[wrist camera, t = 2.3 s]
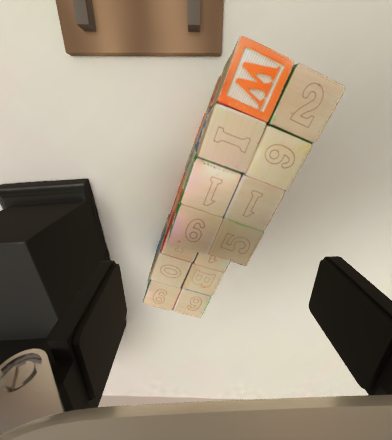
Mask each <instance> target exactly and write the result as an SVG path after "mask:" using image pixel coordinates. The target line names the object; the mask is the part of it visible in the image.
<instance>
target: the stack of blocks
mask: <svg viewBox="0 0 392 440" xmlns="http://www.w3.org/2000/svg"><path fill="white" fill-rule="evenodd" d="M344 90H345V87H344V86H343V85H341V84H339V83H337V82H335V81H333V80H331V79H329V78H327V77H325V76H323V75H321V74H319V73H317V72H316V71H314V70H312V69H310V68H308V67H306V66H304V65H303V64H300V63H298V64H296V65H294V62H293V61H292V60H291V59H289V58H288V57H286V56H283V55H281V54H279V53H277V52H275V51H273V50H271V49H269V48H267V47H265V46H263V45H261V44H259V43H257V42H255V41H253V40H251V39H249V38H246V37H244V36H240V38H239V39H238V42H237V44H236V46H235V48H234V50H233V53H232V54H231V56H230V58H229V59H228V61H227V63H226V65H225V67H224V70H223V73H222V75H221V76H220V77H219V79H218V81H217V84H216V87H215V89H214V92H213V95H212V98H211V100H210V103H209V106H208V109H207V111H206V113H205V114H204V117H203V120H202V123H201V126H200V128H199V131H198V134H197V137H196V139H195V142H194V145H193V147H192V150H191V153H190V156H189V158H188V161H187V164H186V167H185V173H184V175H183V178H182V181H181V184H180V187H179V189H178V193H177V196H176V199H175V202H174V205H173V208H172V210H171V214H169V216H168V218H167V221H166V224H165V227H164V229H163V232H162V235H161V239H160V242H159V245H158V248H157V250H156V254H155V258H154V261H153V264H152V267H151V271H150V274H149V278H148V286H147V290H146V293H145V297H144V300H143V303H144V304H147V305H151V306H155V307H159V308H162V309H166V310H170V311H172V310H173V311H176V312H180V313H183V314H187V315H191V316H195V317H199V318H201V317H202V315H203V313H204V311H205V309H206V307H207V305H208V303H209V300H210V298H211V296H212V295H213V294H214V292H215V290H216V288H217V286H218V284H219V282H220V280H221V278H222V276H223V274H224V272H225V271H226V269H227V267H228V265H229V263H230V261H232V262H235V263H238V264H241V265H244V266H246V265H247V263H248V261H249V260H250V258H251V256H252V254H253V252H254V250H255V248H256V247H257V245H258V243H259V241H260V239H261V237H262V236H263V234H264V230H265V228H266V226H267V225H268V223H269V221H270V219H271V218H272V216H273V214H274V212H275V210H276V208H277V206H278V205H279V203H280V201H281V199H282V197H283V195H284V192H285V191H287V190H288V188H289V187H290V185H291V183H292V181H293V180H294V178H295V176H296V174H297V173H298V171H299V169H300V167H301V165H302V164H303V162H304V160H305V158H306V156H307V155H308V153H309V151H310V149H311V147H312V143H314V142H315V141H316V140H317V138H318V137H319V135H320V133H321V131H322V130H323V128H324V126H325V124H326V123H327V121H328V119H329V117H330V116H331V114H332V112H333V110H334V109H335V107H336V105H337V103H338V102H339V100H340V98H341V96H342V95H343V93H344Z"/></svg>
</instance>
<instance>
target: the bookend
mask: <svg viewBox="0 0 392 440" xmlns="http://www.w3.org/2000/svg"><path fill="white" fill-rule="evenodd" d="M0 204H1V206H2V208H3V210H2V211H0V365H1V364H2V363H4V362H5V361H6V360H7V359H9V358H10V357H12V356H14V355H15V354H17V353H20V352H22V351H24V350H29V349H39V348H40V346H41V345H42V343H43V342H44V340H45V339H46V337H47V336H48V334H49V333H50V331H51V330H52V328H53V327H54V325H55V324H56V323H57V321H58V320H59V318H60V317H61V315H62V314H63V312H64V311H65V309H66V308H67V306H68V305H69V303H70V302H71V300H72V299H73V297H74V296H75V295H76V293H77V292H79V291H81V290H82V288H83V287H84V285H85V284H86V282H87V281H88V279H89V278H90V276H91V275H92V273H93V271H94V270H95V268H96V267H97V265H98V264H99V262H100V261H110V259H109V254H108V251H107V248H106V244H105V241H104V236H103V233H102V230H101V225H100V222H99V218H98V214H97V210H96V207H95V203H94V199H93V195H92V192H91V188H90V185H89V181H88V179H76V180H60V181H43V182H28V183H15V184H3V185H0ZM125 326H126V321H124V324H123V327H122V330H121V333H120V336H119V339H118V342H117V345H116V348H115V351H114V354H113V357H112V360H111V364H110V367H109V370H108V373H107V376H106V379H105V382H104V385H103V388H102V391H101V394H100V396H99V398H98V399H94V401H93V404H92V407H91V408H97V407H98V405H99V402H100V399H101V397H102V394H103V391H104V388H105V385H106V382H107V379H108V376H109V373H110V370H111V367H112V364H113V362H114V359H115V356H116V353H117V350H118V347H119V344H120V341H121V338H122V335H123V332H124V329H125Z"/></svg>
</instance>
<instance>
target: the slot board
mask: <svg viewBox="0 0 392 440" xmlns="http://www.w3.org/2000/svg"><path fill="white" fill-rule="evenodd" d="M56 4H57V10H58V15H59V20H60V25H61V30H62V35H63V40H64V45H65V50H66V53H68V54H70V55H71V56H220V55H221V52H222V26H223V0H56Z"/></svg>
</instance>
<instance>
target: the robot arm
mask: <svg viewBox="0 0 392 440" xmlns="http://www.w3.org/2000/svg"><path fill="white" fill-rule="evenodd" d="M309 309H310V312H311V313H312V315H313V316H314V318H315V319H316V321H317V322H318V324H319V325H320V327H321V328H322V330H323V331H324V333H325V334H326V336H327V337H328V339H329V340H330V342H331V343H332V345H333V346H334V348H335V350H336V351H337V353H338V354H339V356H340V357H341V359H342V360H343V362H344V363H345V365H346V366H347V368H348V369H349V371H350V372H351V374H352V375H353V377H354V378H355V380H356V381H357V383H358V384H359V385H360V386H361V387H362V388H363V389H365V390H366V391H367V393H368V394H369V395H368V396H337V397H307V398H281V399H255V400H231V401H207V402H185V403H162V404H142V405H127V406H111V407H97V408H91V407H92V404H93V401H94V399H98V398H99V396H100V394H101V391H102V388H103V385H104V382H105V379H106V376H107V373H108V370H109V367H110V364H111V360H112V357H113V354H114V351H115V348H116V345H117V342H118V339H119V336H120V333H121V330H122V327H123V324H124V321H125V318H126V314H127V308H126V302H125V296H124V290H123V284H122V278H121V272H120V266H119V264H115V261H100V262H99V264H98V265H97V267H96V268H95V270H94V271H93V273H92V275H91V276H90V278H89V279H88V281H87V282H86V284H85V285H84V287H83V288H82V290H81V291H79V292H77V293H76V295H75V296H74V297H73V299H72V300H71V302H70V303H69V305H68V306H67V308H66V309H65V311H64V312H63V314H62V315H61V317H60V318H59V320H58V321H57V323H56V324H55V325H54V327H53V328H52V330H51V331H50V333H49V334H48V336H47V337H46V339H45V340H44V342H43V343H42V345H41V346H40V348H39V349H29V350H24V351H22V352H20V353H17V354H15V355H14V356H12V357H10V358H9V359H7V360H6V361H5V362H4V363H2V364H1V365H0V440H392V301H391V300H390V299H389V298H388V297H387V296H386V295H384V294H383V293H382V292H381V291H380V290H379V289H377V288H376V287H375V286H374V285H373V284H372V283H370V282H369V281H368V280H367V279H366V278H365V277H363V276H362V275H361V274H360V273H359V272H357V271H356V270H355V269H354V268H353V267H352V266H350V265H349V264H348V263H347V262H346V261H345V260H343V259H342V258H341V257H338V256H336V257H325V258H324V259H323V260H321V261H320V264H319V268H318V272H317V275H316V279H315V283H314V287H313V290H312V294H311V298H310V302H309Z"/></svg>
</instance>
